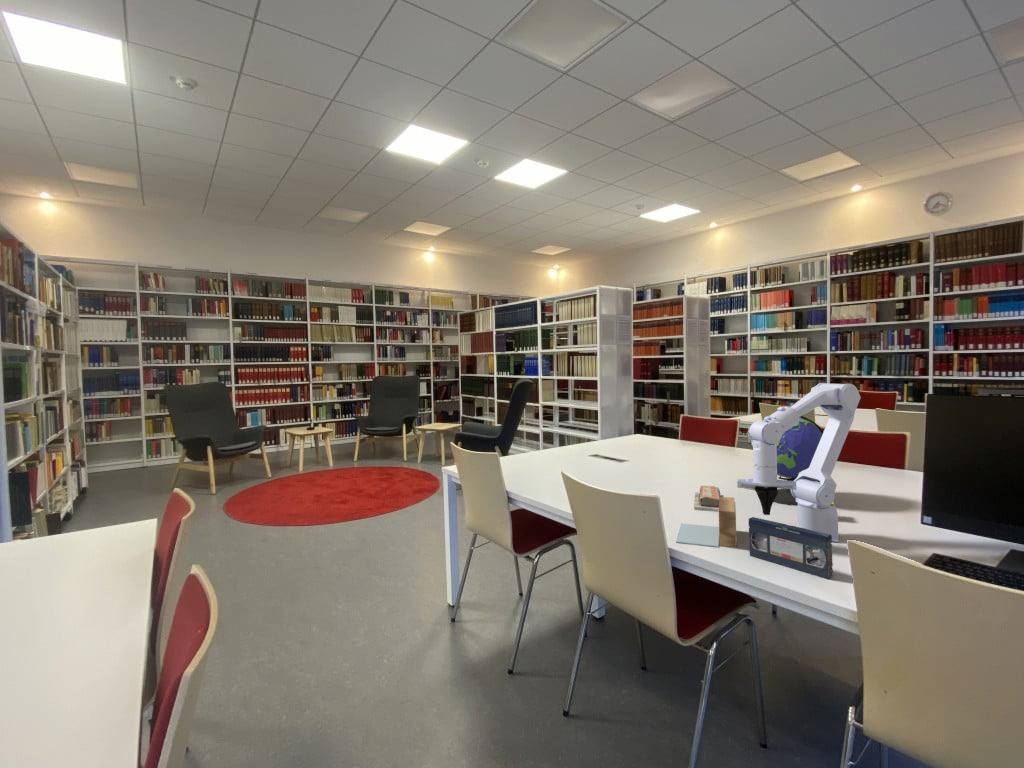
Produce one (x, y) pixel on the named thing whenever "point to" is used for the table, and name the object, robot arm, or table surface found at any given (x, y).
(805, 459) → the globe
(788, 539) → the vhs cassette tape
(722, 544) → the tan wooden block
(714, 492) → the packaged product
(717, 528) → the mat
